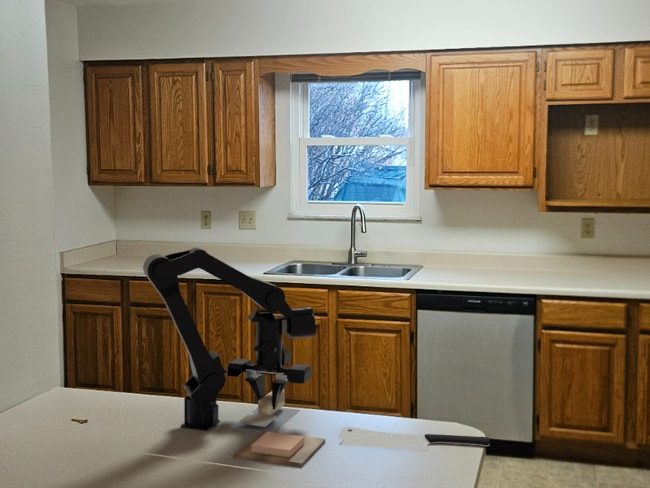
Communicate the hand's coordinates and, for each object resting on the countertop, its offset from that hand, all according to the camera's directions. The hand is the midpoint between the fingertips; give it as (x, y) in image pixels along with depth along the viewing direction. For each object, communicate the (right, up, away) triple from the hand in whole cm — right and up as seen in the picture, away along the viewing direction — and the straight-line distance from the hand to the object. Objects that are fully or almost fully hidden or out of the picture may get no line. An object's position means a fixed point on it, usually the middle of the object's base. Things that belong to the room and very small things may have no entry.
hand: (268, 408), depth 176 cm
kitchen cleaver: (+31, -5, -15) cm, 34 cm away
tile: (+3, -3, -21) cm, 22 cm away
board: (+4, -4, -20) cm, 21 cm away
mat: (0, -2, -1) cm, 3 cm away
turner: (0, -1, -1) cm, 2 cm away
